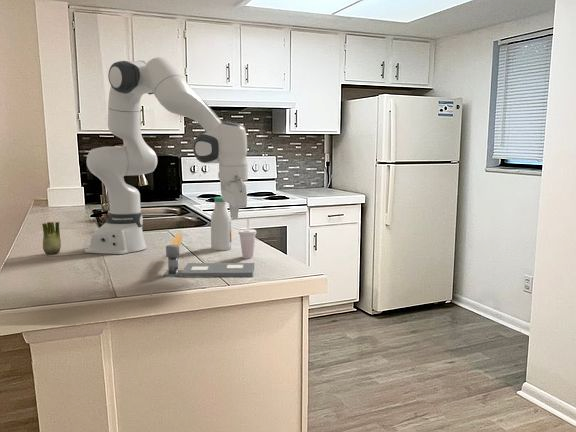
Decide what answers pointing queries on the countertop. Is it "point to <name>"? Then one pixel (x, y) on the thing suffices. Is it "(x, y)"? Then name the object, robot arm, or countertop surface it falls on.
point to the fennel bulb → (51, 238)
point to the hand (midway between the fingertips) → (234, 218)
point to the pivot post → (173, 267)
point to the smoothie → (247, 241)
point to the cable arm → (174, 247)
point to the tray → (218, 269)
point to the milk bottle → (220, 226)
